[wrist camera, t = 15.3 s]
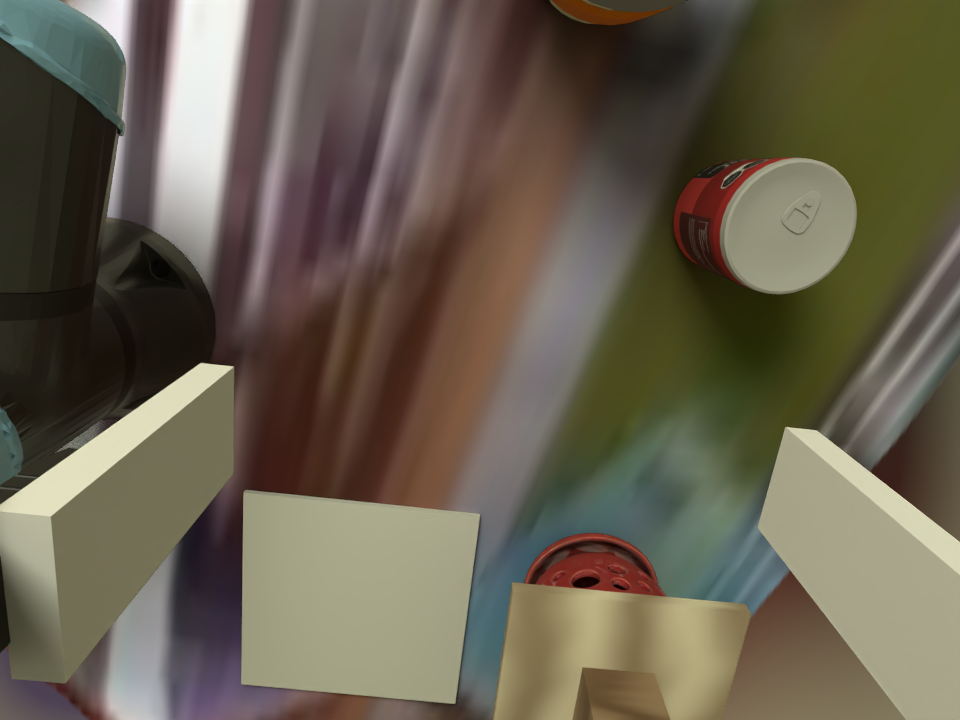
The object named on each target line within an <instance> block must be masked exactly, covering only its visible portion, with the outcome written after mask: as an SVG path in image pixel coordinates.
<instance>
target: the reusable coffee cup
mask: <svg viewBox="0 0 960 720" xmlns="http://www.w3.org/2000/svg"><path fill="white" fill-rule="evenodd" d="M549 1H550V2H551V4H552V5H553V6H554V7H555V8H557V9H558V10H559V11H560V12H561V13H562V14H564V15H566V16H568V17H569V18H571V19H573V20H576V21H579V22H583V23H588V24H601V25H618V24H625V23H631V22H634V21H637V20H640V19H643V18H646V17H649V16H652V15H654V14H657V13H660V12H663V11H665V10H668V9H670V8H672V7H673V6H675V5H677V4H679V3H682V2H685V1H687V0H549Z"/></svg>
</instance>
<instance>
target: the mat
mask: <svg viewBox="0 0 960 720" xmlns="http://www.w3.org/2000/svg"><path fill="white" fill-rule="evenodd" d="M479 520H480V514H476V513H466V512H457V511H447V510H437V509H427V508H418V507H408V506H398V505H389V504H379V503H369V502H359V501H350V500H340V499H330V498H320V497H311V496H301V495H291V494H282V493H272V492H262V491H252V490H245V491H244V493H243V582H242V674H241V684H244V685H255V686H266V687H277V688H288V689H299V690H309V691H320V692H331V693H342V694H353V695H364V696H375V697H385V698H396V699H407V700H418V701H429V702H440V703H451V704H455V702H456V694H457V687H458V679H459V672H460V664H461V656H462V649H463V641H464V634H465V626H466V619H467V611H468V603H469V596H470V588H471V581H472V573H473V566H474V558H475V550H476V543H477V535H478V528H479Z"/></svg>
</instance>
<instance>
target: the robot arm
mask: <svg viewBox="0 0 960 720" xmlns="http://www.w3.org/2000/svg"><path fill="white" fill-rule="evenodd" d="M125 78H126V63H125V58H124V55H123V53H122V50H121V49H120V47H119V45H118V44H117V42H116V40H115V39H114V38H113V37H112V36H111V35H110V34H109V33H108V32H107V31H106V30H105V29H104V28H103V27H102V26H101V25H99V24H98V23H97V22H95V21H94V20H92V19H91V18H89V17H88V16H86V15H84V14H83V13H81V12H80V11H78V10H76V9H74V8H72V7H71V6H69V5H67V4H65V3H63V2H62V1H60V0H0V652H1V651H2V650H3V649H4V648H5V647H6V646H7V645H8V652H9V660H10V669H11V678H12V679H22V680H33V681H43V682H54V683H66V682H67V681H68V680H69V678H70V677H71V676H72V675H73V673H74V672H75V671H76V670H77V668H78V667H79V666H80V665H81V663H82V662H83V661H84V660H85V658H86V657H87V656H88V655H89V653H90V652H91V651H92V650H93V648H94V647H95V646H96V645H97V643H98V642H99V641H100V640H101V638H102V637H103V636H104V635H105V633H106V632H107V631H108V630H109V628H110V627H111V626H112V625H113V623H114V622H115V621H116V620H117V618H118V617H119V616H120V615H121V613H122V612H123V611H124V610H125V608H126V607H127V606H128V605H129V603H130V602H131V601H132V600H133V598H134V597H135V596H136V595H137V593H138V592H139V591H140V590H141V588H142V587H143V586H144V585H145V583H146V582H147V581H148V580H149V578H150V577H151V576H152V575H153V573H154V572H155V571H156V570H157V568H158V567H159V566H160V565H161V563H162V562H163V561H164V560H165V558H166V557H167V556H168V555H169V553H170V552H171V551H172V550H173V548H174V547H175V546H176V545H177V543H178V542H179V541H180V540H181V538H182V537H183V536H184V535H185V533H186V532H187V531H188V530H189V528H190V527H191V526H192V525H193V523H194V522H195V521H196V520H197V518H198V517H199V516H200V515H201V513H202V512H203V511H204V510H205V508H206V507H207V506H208V505H209V503H210V502H211V501H212V500H213V498H214V497H215V496H216V495H217V493H218V492H219V491H220V490H221V488H222V487H223V486H224V485H225V483H226V482H227V481H228V480H229V478H230V477H231V476H232V475H233V466H234V367H233V366H223V365H214V364H207V362H208V360H209V358H210V355H211V352H212V348H213V343H214V336H215V319H214V312H213V307H212V303H211V299H210V297H209V294H208V291H207V289H206V286H205V284H204V282H203V280H202V279H201V277H200V275H199V274H198V272H197V270H196V269H195V268H194V266H193V265H192V264H191V262H190V261H189V260H188V259H187V258H186V257H185V255H184V254H183V253H182V252H181V251H180V250H179V249H177V248H176V247H175V246H174V245H173V244H172V243H170V242H169V241H168V240H166V239H165V238H164V237H162V236H160V235H159V234H157V233H155V232H154V231H152V230H150V229H148V228H146V227H143V226H141V225H138V224H136V223H133V222H129V221H125V220H121V219H115V218H107V211H108V205H109V198H110V191H111V185H112V178H113V171H114V165H115V158H116V151H117V145H118V138H119V136H123V135H124V131H125V124H124V122H123V120H122V108H123V98H124V88H125ZM121 417H124V418H122V419H121V420H119V421H118V422H117V423H115V424H114V425H112V426H111V427H109V428H108V429H107V430H105V431H104V432H102V433H101V434H100V435H98V436H97V437H95V438H94V439H92V440H91V441H90V442H88V443H87V444H85V445H84V446H83V447H81V448H80V449H73V448H68V449H65V450H62V451H60V452H57V453H54V452H56V451H57V450H59V449H60V448H62V447H63V446H64V445H66V444H67V443H69V442H70V441H72V440H73V439H74V438H76V437H77V436H79V435H80V434H82V433H83V432H84V431H86V430H87V429H89V428H90V427H92V426H93V425H94V424H96V423H97V422H99V421H100V420H106V419H114V418H121ZM53 453H54V454H53ZM758 529H759V530H760V531H761V533H762V534H763V535H764V537H765V538H766V539H767V540H768V542H769V543H770V544H771V546H772V547H773V548H774V549H775V551H776V552H777V553H778V555H779V556H780V557H781V559H782V560H783V561H784V562H785V564H786V565H787V566H788V568H789V569H790V570H791V571H792V573H793V574H794V575H795V577H796V578H797V579H798V581H799V582H800V583H801V584H802V586H803V587H804V588H805V590H806V591H807V592H808V593H809V595H810V596H811V597H812V599H813V600H814V601H815V603H816V604H817V605H818V606H819V608H820V609H821V610H822V611H823V613H824V614H825V615H826V617H827V618H828V619H829V621H830V622H831V623H832V625H833V626H834V627H835V628H836V630H837V631H838V632H839V634H840V635H841V636H842V637H843V639H844V640H845V641H846V643H847V644H848V645H849V646H850V648H851V649H852V650H853V652H854V653H855V654H856V656H857V657H858V658H859V659H860V661H861V662H862V663H863V665H864V666H865V667H866V669H867V670H868V671H869V672H870V674H871V675H872V676H873V678H874V679H875V680H876V681H877V683H878V684H879V685H880V687H881V688H882V689H883V691H884V692H885V693H886V694H887V696H888V697H889V698H890V699H891V701H892V702H893V703H894V704H895V706H896V707H897V709H898V710H899V711H900V712H901V714H902V715H903V716H904V718H905V719H906V720H960V542H959V541H957V540H956V539H955V538H954V537H952V536H951V535H950V534H949V533H947V532H946V531H945V530H943V529H942V528H941V527H939V526H938V525H937V524H936V523H934V522H933V521H932V520H930V519H929V518H928V517H927V516H925V515H924V514H923V513H921V512H920V511H919V510H918V509H917V508H915V507H914V506H913V505H911V504H910V503H909V502H908V501H906V500H905V499H904V498H902V497H901V496H900V495H899V494H897V493H896V492H895V491H893V490H892V489H891V488H890V487H888V486H887V485H886V484H885V483H883V482H882V481H881V480H879V479H878V478H877V477H876V476H874V475H873V474H872V473H870V472H869V471H868V470H867V469H865V468H864V467H863V466H861V465H860V464H859V463H858V462H856V461H855V460H854V459H852V458H851V457H850V456H849V455H847V454H846V453H845V452H844V451H842V450H841V449H840V448H838V447H837V446H836V445H835V444H833V443H832V442H831V441H829V440H828V439H827V438H826V437H824V436H823V435H822V434H820V433H819V432H818V431H817V430H807V429H798V428H789V427H785V431H784V434H783V438H782V441H781V445H780V449H779V452H778V456H777V460H776V463H775V467H774V470H773V474H772V478H771V481H770V485H769V489H768V492H767V496H766V499H765V503H764V507H763V510H762V514H761V518H760V521H759V525H758Z"/></svg>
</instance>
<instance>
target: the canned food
mask: <svg viewBox="0 0 960 720" xmlns="http://www.w3.org/2000/svg"><path fill="white" fill-rule="evenodd" d="M856 217H857V211H856V202H855V198H854V195H853V192H852V189H851V187H850V186H849V184H848V183H847V181H846V179H845V178H844V177H843V176H842V175H841V174H840V173H839V172H838V171H837V170H836V169H834V168H832V167H831V166H829V165H827V164H826V163H822V162H819V161H816V160H811V159H806V158H767V159H743V160H729V161H722V162H719V163H716V164H713V165H711V166H709V167H707V168H706V169H704V170H702V171H701V172H700V173H698V174H697V175H696V176H695V177H694V178H693V179H692V180H691V181H690V182H689V183H688V184H687V186H686V187H685V188H684V190H683V192H682V193H681V195H680V197H679V199H678V201H677V204H676V207H675V212H674V217H673V220H674V233H675V238H676V241H677V243H678V245H679V248H680V249H681V250H682V252H683V253H684V255H685V256H686V257H687V258H689V259H690V260H691V261H692V262H694V263H696V264H697V265H699V266H701V267H703V268H706V269H708V270H710V271H712V272H714V273H716V274H719V275H721V276H723V277H725V278H727V279H729V280H732V281H734V282H736V283H738V284H740V285H742V286H745V287H748V288H750V289H752V290H756V291H759V292H763V293H768V294H787V293H794V292H797V291H800V290H803V289H806V288H808V287H810V286H811V285H813V284H815V283H817V282H819V281H820V280H821V279H823V278H824V277H825V276H827V275H828V274H829V273H830V272H831V271H832V270H833V269H834V268H835V267H836V266H837V265H838V263H839V262H840V261H841V259H842V258H843V256H844V255H845V253H846V252H847V250H848V247H849V245H850V243H851V241H852V238H853V235H854V231H855V227H856Z"/></svg>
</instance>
